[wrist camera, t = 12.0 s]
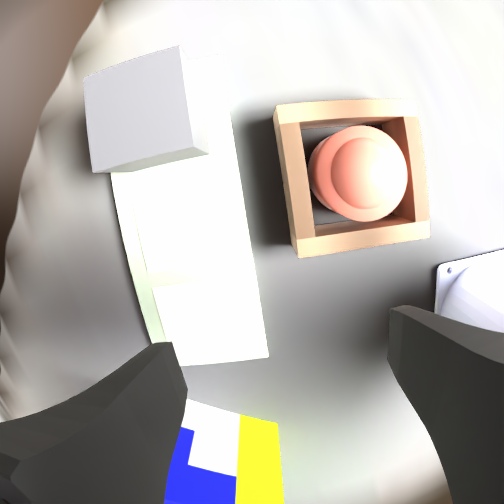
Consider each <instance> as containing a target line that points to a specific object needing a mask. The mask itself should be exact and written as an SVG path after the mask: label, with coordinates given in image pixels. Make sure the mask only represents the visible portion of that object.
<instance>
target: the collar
mask: <svg viewBox="0 0 504 504" xmlns="http://www.w3.org/2000/svg"><path fill="white" fill-rule="evenodd" d="M273 123H274V129H275V135H276V141H277V147H278V153H279V160H280V166H281V173H282V179H283V186H284V193H285V200H286V207H287V214H288V221H289V228H290V236H291V243H292V246H293V248H294V250H295V252H296V254H297V256H298V258H305V257H312V256H318V255H325V254H331V253H337V252H344V251H350V250H356V249H362V248H369V247H375V246H381V245H387V244H393V243H399V242H405V241H411V240H417V239H423V238H429V237H430V219H429V200H428V187H427V176H426V167H425V158H424V151H423V143H422V137H421V130H420V124H419V119H418V113H417V108H416V103H415V100H408V99H355V100H333V101H317V102H305V103H294V104H285V105H276V108H275V111H274V114H273ZM369 124H382V129H383V132H384V133H386V134H387V135H388V136H389V137H391V138H392V139H393V140H394V142H395V143H396V144H397V145H398V147H399V148H400V150H401V152H402V154H403V156H404V159H405V162H406V167H407V184H406V189H405V192H404V195H403V197H402V199H401V201H400V202H399V204H398V205H397V206H396V208H395V209H394V210H393V215H388V216H384V217H382V218H380V219H377V220H374V221H365V222H364V221H356V220H351V221H344V222H337V223H330V224H323V225H316V226H314V220H313V212H312V204H311V197H310V189H309V182H308V175H307V168H306V162H305V155H304V149H303V143H302V137H301V131H300V130H302V129H312V128H323V127H335V126H350V125H369Z"/></svg>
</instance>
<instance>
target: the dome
mask: <svg viewBox="0 0 504 504" xmlns="http://www.w3.org/2000/svg"><path fill="white" fill-rule="evenodd" d="M308 180H309V184H310V187H311V189H312V191H313V193H314V195H315V196H316V198H317V199H318V200H319V201H320V202H321V203H322V204H323V205H324V206H325V207H327V208H328V209H330V210H332V211H334V212H337V213H339V214H341V215H343V216H345V217H347V218H350V219H352V220H356V221H364V222H365V221H374V220H377V219H380V218H382V217H384V216H386V215H388V214H389V213H390V212H392V211H393V210H394V209H395V208H396V206H397V205H398V204H399V202H400V201H401V199H402V197H403V195H404V192H405V189H406V184H407V167H406V162H405V159H404V156H403V154H402V152H401V150H400V148H399V147H398V145H397V144H396V143H395V142H394V140H393V139H392V138H391V137H389V136H388V135H387V134H386V133H384V132H382V131H381V130H378V129H376V128H373V127H370V126H352V127H348V128H346V129H343V130H341V131H339V132H337V133H335V134H333V135H331V136H329V137H327V138H326V139H324V140H323V141H321V142H320V143H319V144H318V145H317V146H316V148H315V149H314V151H313V152H312V155H311V157H310V160H309V164H308Z"/></svg>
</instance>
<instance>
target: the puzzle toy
mask: <svg viewBox="0 0 504 504" xmlns="http://www.w3.org/2000/svg"><path fill="white" fill-rule="evenodd" d="M164 504H284V497H283V484H282V471H281V459H280V447H279V435H278V423H273V422H269V421H265V420H260V419H256V418H252V417H248V416H244V415H240V414H236V413H233V412H229V411H226V410H222V409H219V408H215V407H212V406H208V405H205V404H202V403H199V402H196V401H193V400H190V399H187V400H186V408H185V414H184V418H183V422H182V425H181V429H180V432H179V436H178V439H177V443H176V446H175V450H174V453H173V457H172V460H171V464H170V468H169V473H168V478H167V486H166V493H165V502H164Z"/></svg>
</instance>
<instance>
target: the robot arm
mask: <svg viewBox="0 0 504 504" xmlns="http://www.w3.org/2000/svg"><path fill="white" fill-rule="evenodd" d="M449 267H450V269H449V271H448V272H447V269H448V268H449ZM388 361H389V364H390V366H391V368H392V371H393V373H394V375H395V377H396V380H397V382H398V383H399V385H400V387H401V388H402V390H403V391H404V393H405V395H406V396H407V398H408V400H409V401H410V403H411V404H412V406H413V407H414V409H415V411H416V412H417V414H418V416H419V417H420V419H421V420H422V422H423V424H424V425H425V427H426V429H427V431H428V433H429V435H430V437H431V439H432V441H433V444H434V446H435V449H436V451H437V453H438V456H439V459H440V461H441V464H442V467H443V470H444V473H445V476H446V479H447V482H448V486H449V489H450V493H451V496H452V500H453V504H504V250H500V251H496V252H492V253H488V254H484V255H479V256H475V257H471V258H467V259H462V260H458V261H453V262H449V263H444V264H441V265H440V266H439V267H438V269H437V283H436V299H435V312H434V313H433V312H430V311H427V310H424V309H421V308H418V307H414V306H411V305H402V306H398V307H393V308H390V325H389V345H388ZM187 391H188V389H187V386H186V383H185V380H184V377H183V374H182V371H181V368H180V365H179V362H178V359H177V356H176V352H175V349H174V346H173V343H172V341H169V342H155V343H153V344H152V345H150V346H148V347H147V348H145V349H144V350H143V351H141V352H140V353H139V354H137V355H136V356H134V357H133V358H132V359H130V360H129V361H128V362H126V363H125V364H124V365H122V366H121V367H120V368H118V369H117V370H116V371H114V372H113V373H111V374H110V375H108V376H107V377H105V378H104V379H102V380H101V381H99V382H98V383H96V384H95V385H93V386H92V387H90V388H89V389H87V390H85V391H83V392H82V393H80V394H78V395H76V396H74V397H72V398H70V399H68V400H66V401H64V402H62V403H60V404H58V405H55V406H53V407H50V408H48V409H45V410H43V411H41V412H38V413H35V414H32V415H29V416H26V417H22V418H18V419H15V420H11V421H6V422H1V423H0V504H164V502H165V493H166V486H167V478H168V473H169V468H170V464H171V460H172V457H173V453H174V450H175V446H176V443H177V439H178V436H179V432H180V429H181V425H182V422H183V418H184V414H185V408H186V400H187Z"/></svg>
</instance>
